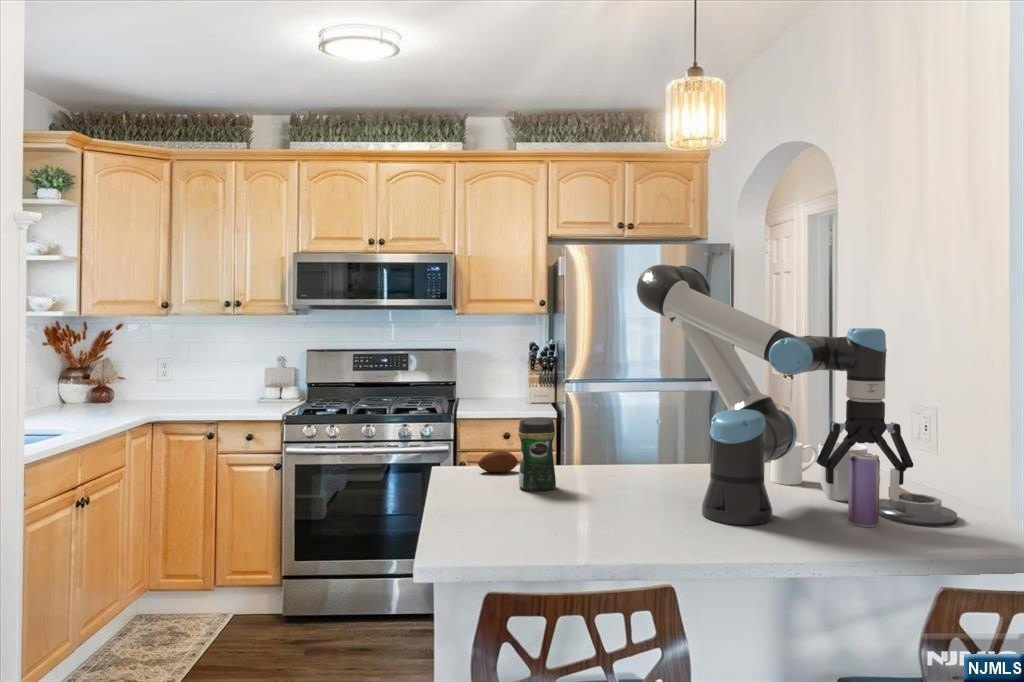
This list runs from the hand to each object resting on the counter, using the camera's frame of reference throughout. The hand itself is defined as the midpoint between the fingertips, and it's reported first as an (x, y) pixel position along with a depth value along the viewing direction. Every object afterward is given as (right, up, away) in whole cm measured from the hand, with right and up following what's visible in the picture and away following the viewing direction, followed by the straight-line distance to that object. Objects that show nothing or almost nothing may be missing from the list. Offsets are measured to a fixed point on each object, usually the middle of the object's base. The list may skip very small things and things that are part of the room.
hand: (863, 499), depth 158 cm
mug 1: (0, -4, +39) cm, 40 cm away
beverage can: (0, -6, 0) cm, 6 cm away
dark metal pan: (+15, -5, +8) cm, 17 cm away
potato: (-80, -4, +52) cm, 95 cm away
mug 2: (+6, -5, +21) cm, 22 cm away
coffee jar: (-70, -4, +33) cm, 77 cm away
